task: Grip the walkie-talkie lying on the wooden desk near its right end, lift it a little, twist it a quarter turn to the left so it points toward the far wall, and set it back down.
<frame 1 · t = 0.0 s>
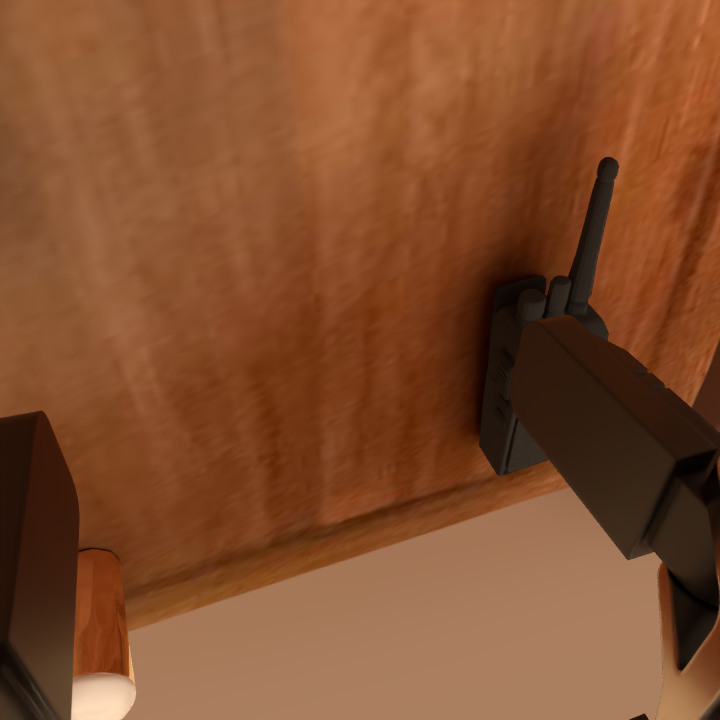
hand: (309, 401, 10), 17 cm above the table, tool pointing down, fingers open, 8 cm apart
walkie-talkie: (508, 309, 35), on the table
milkshake: (82, 565, 36), on the table
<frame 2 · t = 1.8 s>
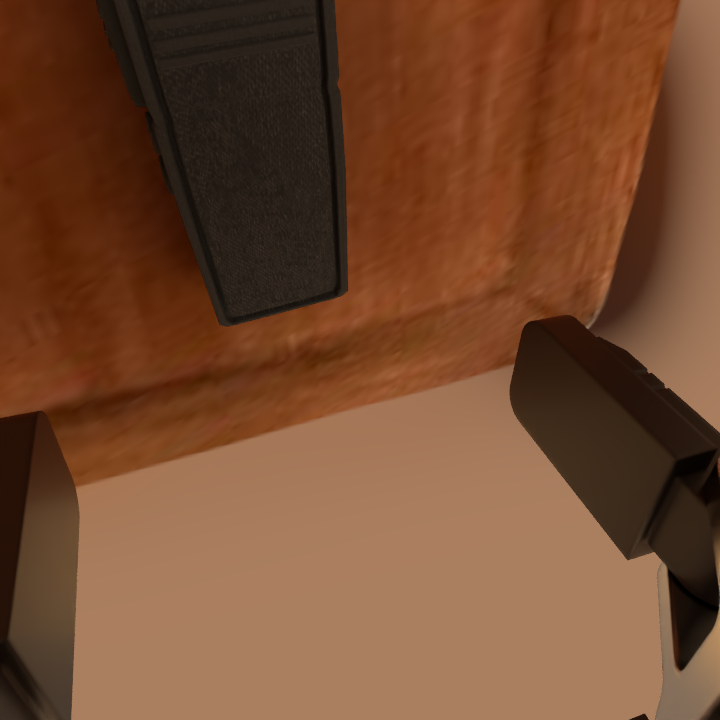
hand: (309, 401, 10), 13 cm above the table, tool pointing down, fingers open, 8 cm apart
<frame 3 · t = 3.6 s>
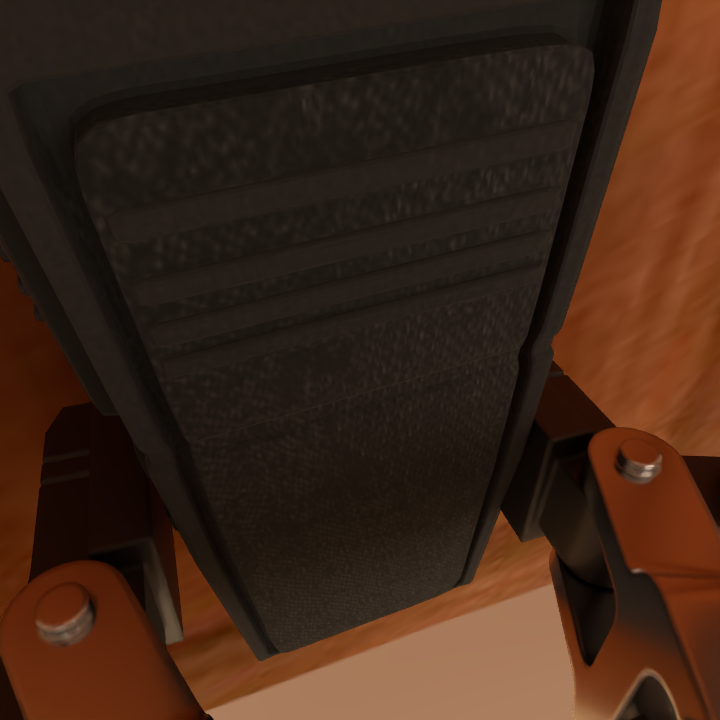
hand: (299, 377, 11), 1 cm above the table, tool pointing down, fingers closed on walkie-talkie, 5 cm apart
walkie-talkie: (225, 41, 8), on the table, touching gripper
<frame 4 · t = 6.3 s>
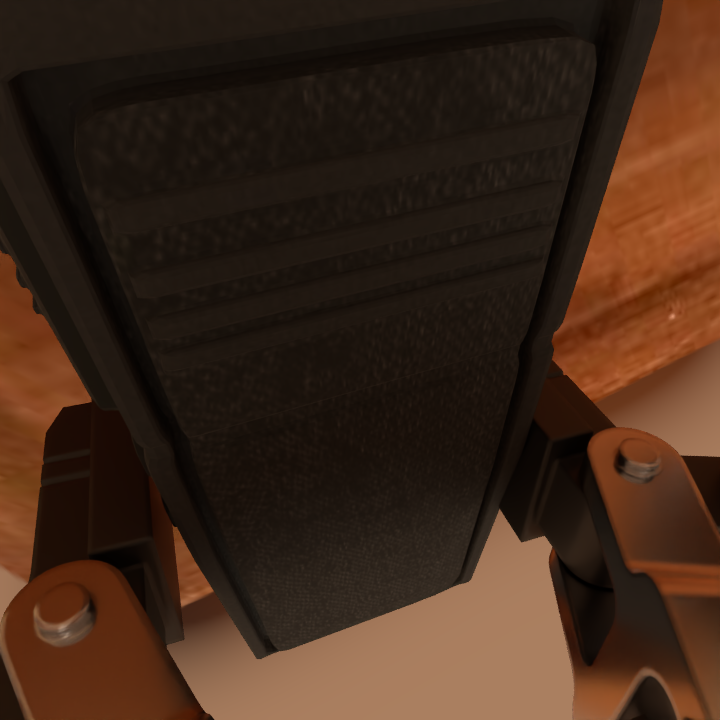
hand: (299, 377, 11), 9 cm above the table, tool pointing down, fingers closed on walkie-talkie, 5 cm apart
walkie-talkie: (225, 37, 8), point 7 cm above the table, touching gripper
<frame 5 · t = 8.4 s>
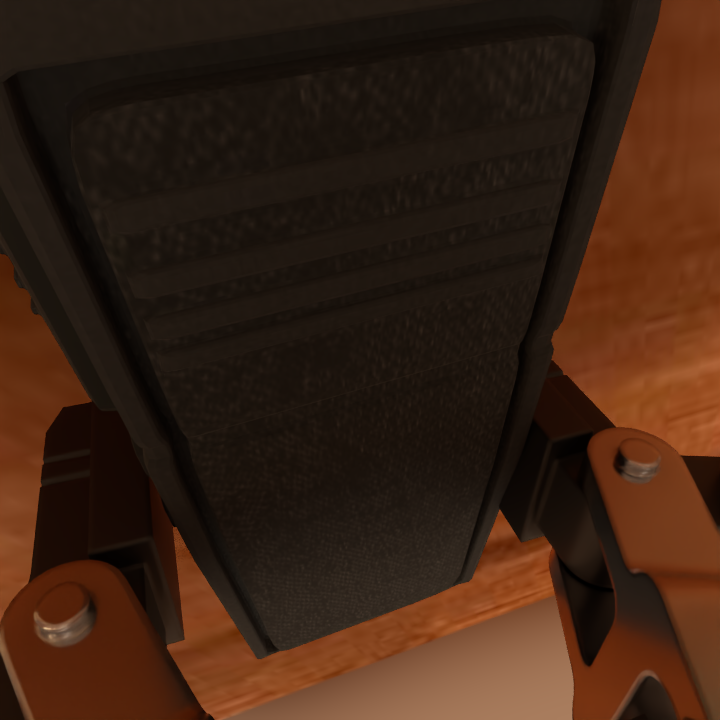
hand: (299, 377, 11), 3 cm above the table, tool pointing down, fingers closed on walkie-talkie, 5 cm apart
walkie-talkie: (224, 36, 8), point 1 cm above the table, touching gripper
when the fingers open (1 cm above the table, at t = 9.4 s): walkie-talkie stays where it is, on the table.
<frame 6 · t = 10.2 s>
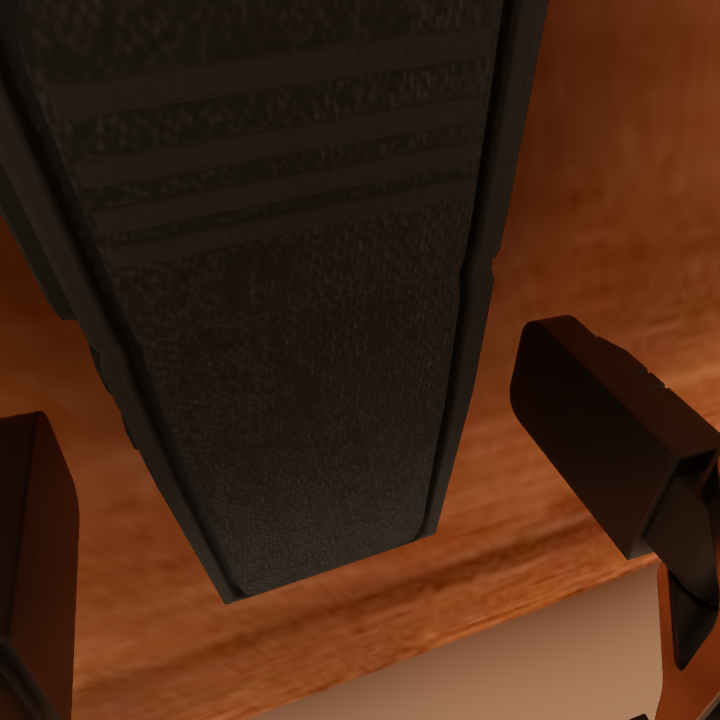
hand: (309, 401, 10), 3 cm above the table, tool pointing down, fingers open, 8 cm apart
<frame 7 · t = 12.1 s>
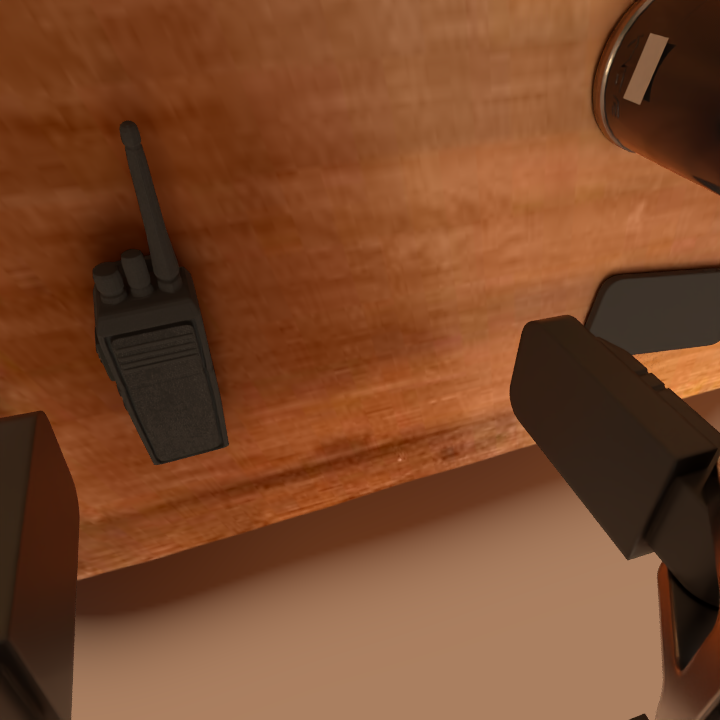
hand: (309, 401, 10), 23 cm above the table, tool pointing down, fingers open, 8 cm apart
phone: (662, 308, 48), on the table
walkie-talkie: (144, 289, 33), on the table
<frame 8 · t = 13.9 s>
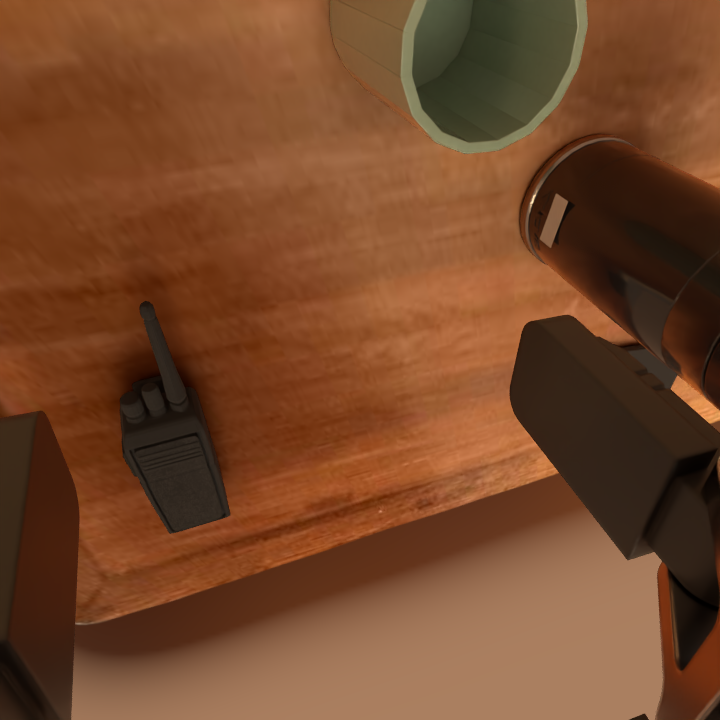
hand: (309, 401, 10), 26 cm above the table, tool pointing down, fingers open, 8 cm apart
phone: (605, 377, 56), on the table
walkie-talkie: (159, 397, 41), on the table
pencil cup: (404, 12, 32), on the table
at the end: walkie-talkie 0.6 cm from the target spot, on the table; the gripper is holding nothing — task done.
